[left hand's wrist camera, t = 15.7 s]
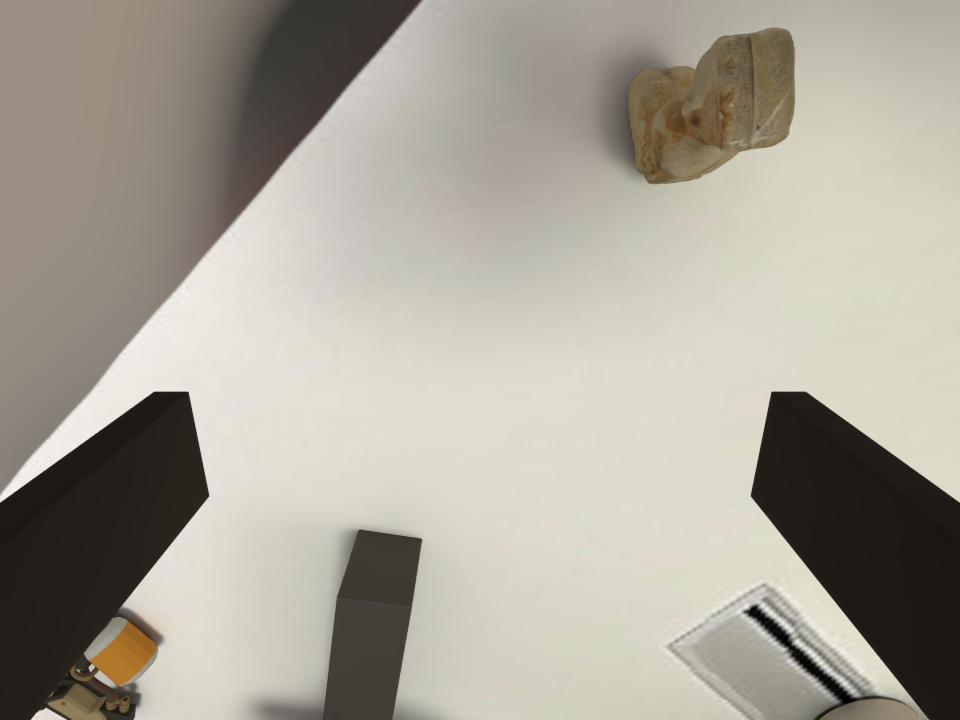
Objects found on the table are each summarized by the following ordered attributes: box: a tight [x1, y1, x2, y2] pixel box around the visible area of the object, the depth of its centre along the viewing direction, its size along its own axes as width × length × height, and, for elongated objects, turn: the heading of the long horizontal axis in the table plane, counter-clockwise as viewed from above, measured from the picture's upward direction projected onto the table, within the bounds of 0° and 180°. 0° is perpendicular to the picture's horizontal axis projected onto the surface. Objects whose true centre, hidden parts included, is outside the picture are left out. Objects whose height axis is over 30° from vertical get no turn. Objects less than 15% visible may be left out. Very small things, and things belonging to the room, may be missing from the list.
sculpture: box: [628, 28, 795, 184], centre depth 31 cm, size 6×7×15 cm
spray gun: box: [36, 617, 158, 720], centre depth 54 cm, size 4×17×15 cm
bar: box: [323, 530, 422, 720], centre depth 52 cm, size 28×6×8 cm, turn 170°
